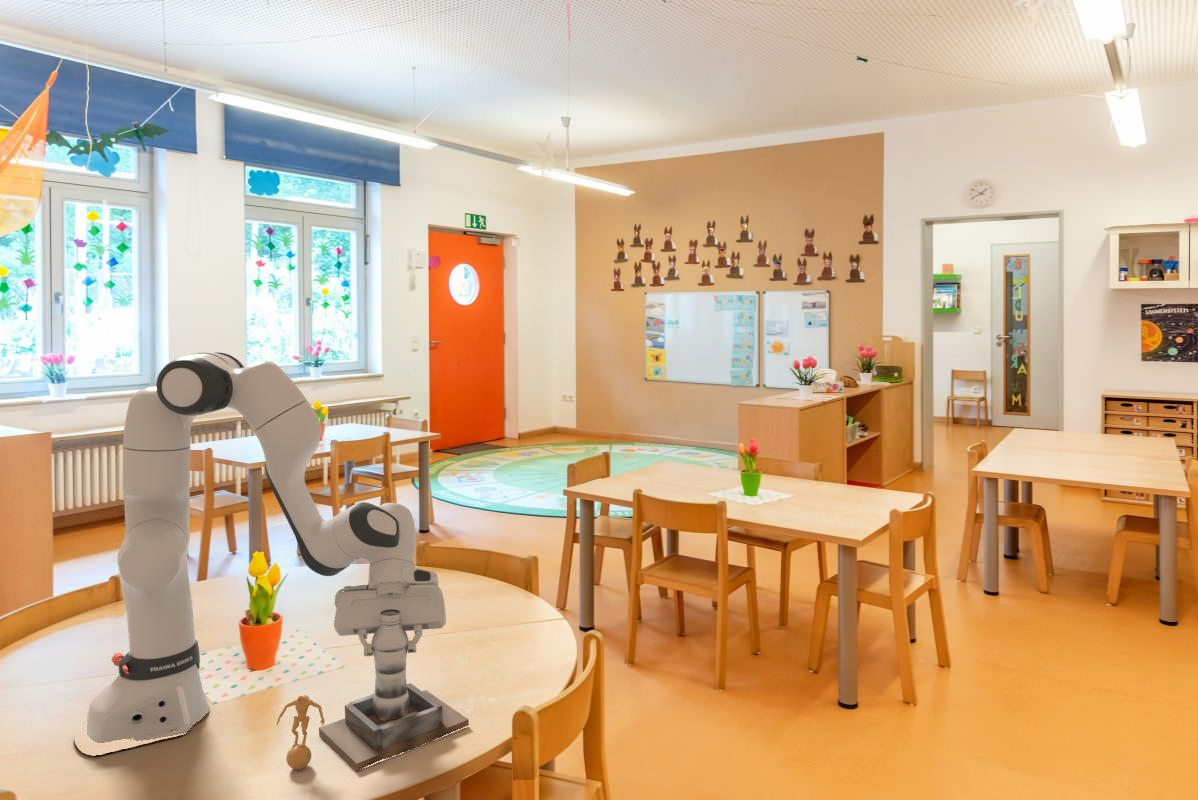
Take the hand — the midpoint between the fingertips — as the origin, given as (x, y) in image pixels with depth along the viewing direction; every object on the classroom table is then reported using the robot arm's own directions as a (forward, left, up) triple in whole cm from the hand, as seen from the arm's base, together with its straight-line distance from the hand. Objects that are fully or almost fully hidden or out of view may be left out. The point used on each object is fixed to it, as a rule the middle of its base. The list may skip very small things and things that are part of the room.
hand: (390, 653), depth 151 cm
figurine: (-17, +1, -16) cm, 23 cm away
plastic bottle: (0, +1, -13) cm, 13 cm away
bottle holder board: (0, 0, -15) cm, 15 cm away
